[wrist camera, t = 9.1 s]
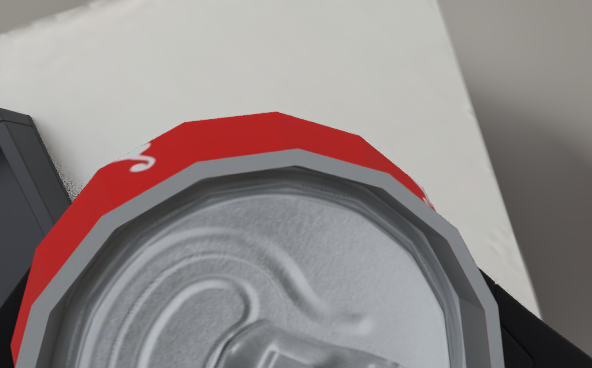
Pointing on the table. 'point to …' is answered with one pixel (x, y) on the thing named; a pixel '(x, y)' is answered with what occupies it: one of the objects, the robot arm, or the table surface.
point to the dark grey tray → (25, 197)
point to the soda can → (255, 260)
